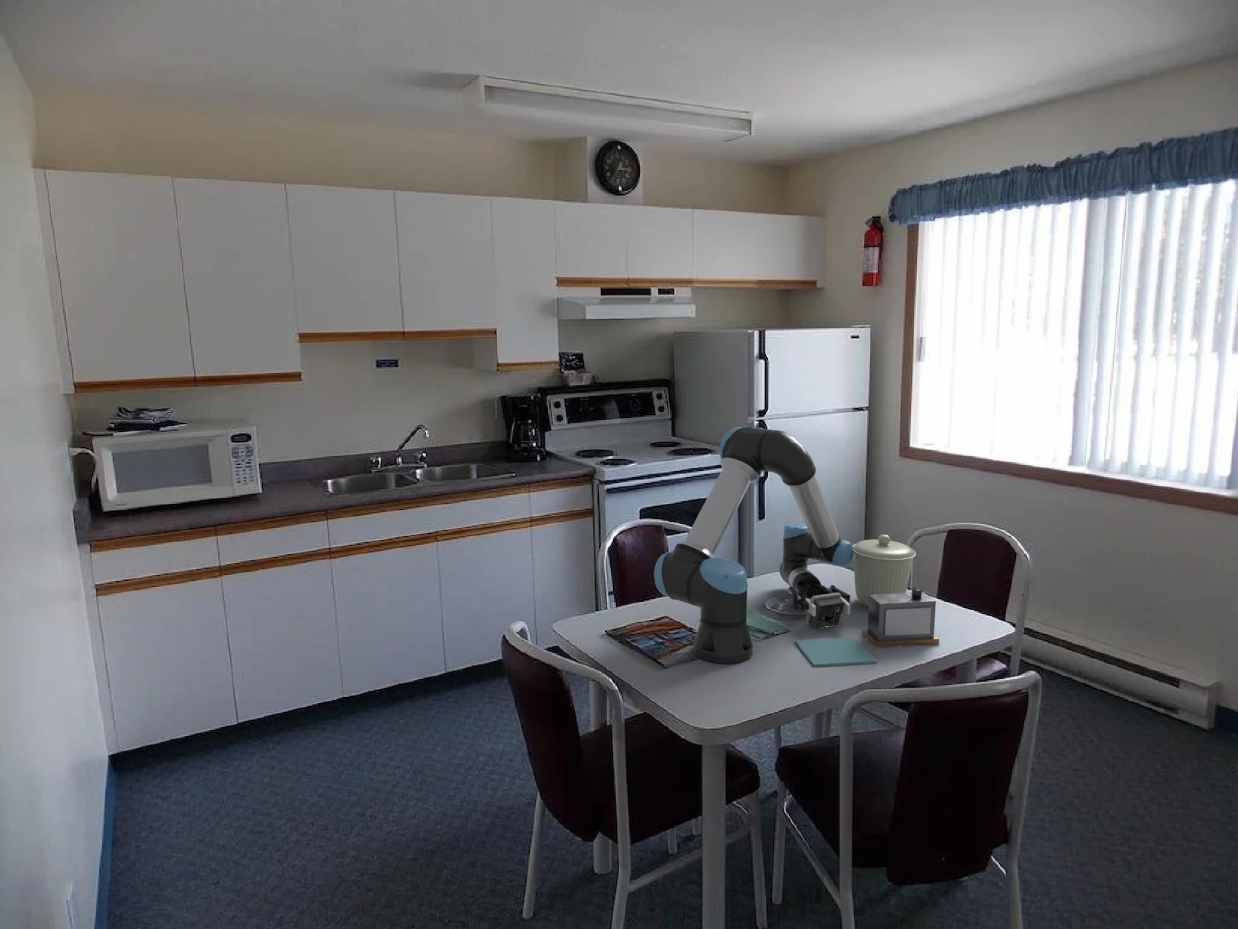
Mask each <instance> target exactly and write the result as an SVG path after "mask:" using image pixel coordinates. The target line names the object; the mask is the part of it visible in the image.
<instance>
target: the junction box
mask: <svg viewBox="0 0 1238 929" xmlns="http://www.w3.org/2000/svg"><path fill="white" fill-rule="evenodd" d="M936 603H937V601H936V600H935V599H933V598H932V597H931V596H929V595H928V594H927V593H925V592H924V591H923V590H922V589H921V588H916V587H915V588H911V592H906V593H895V594H874V595H869V605H868V606H867V607H868V610H867V628H862V629H861V635H862V634H863V635H862V636H863V637H864V638H865V639H866V638H867V639H868V640H867V639H866V640H867V641H868V642H869V643H870V644H871V645H872V644H873V645H874V646H875V647H876V649H877V648H878V647H882V648H895V647H897V648H899V647H898V646H901V647H916V645H919V646H933V645H932V644H936V645H937V644H938V645H940V638H939V637H938V636H936V635H935V623H936V621H935V620H936V619H935V618H936V605H937V604H936ZM873 645H872V646H873ZM936 645H935V646H936ZM874 646H873V647H874ZM875 647H874V648H875Z"/></svg>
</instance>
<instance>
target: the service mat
mask: <svg viewBox="0 0 1238 929" xmlns="http://www.w3.org/2000/svg"><path fill="white" fill-rule="evenodd" d="M794 644H797V645H796V646H797V647H798V648H799V650H800V651H801V652H802V654H803V655H804V656H805V658H806V659H807V660H808V661H809V662H810V664H811V665H812V666H813V667H814V668H815V667H817V668H818V667H827V666H828V667H830V666H831V667H832V666H833V667H834V666H850V665H867V664H868V665H869V664H877V663H878V660H877V659H876V658H875V657H874V656H873V655H872V654H871V653H870V652H869V651H868V650H867V649H866V648H865V647H864V646H863V645H862V643H860V642H859V641H858V640H857V639H856V637H853V636H852V637H837V638H836V637H835V638H818V639H817V638H815V639H814V638H813V639H797V640H796V639H795V640H794Z"/></svg>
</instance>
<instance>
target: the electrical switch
mask: <svg viewBox="0 0 1238 929" xmlns="http://www.w3.org/2000/svg"><path fill="white" fill-rule="evenodd" d="M810 602H812V603H813V604H814V605H815V606H816V616H812V615H811V614H810V612H809V611H808V610H807V615H806V618H805V623H806V625H808V626H810V625H811V626H812V627H813V628H814V629H815V630H817V629H822V627H823V628H826V627H825V626H830V627H835V626H839V625H840V622H841V618H842V614H843V606H844V602H843V601H842V599H841V594H840V593H839V592H838V593H831V594H824V595H817V596H813V597H812V598H811V599H810Z"/></svg>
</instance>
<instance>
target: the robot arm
mask: <svg viewBox="0 0 1238 929" xmlns="http://www.w3.org/2000/svg"><path fill="white" fill-rule="evenodd" d="M719 448H720V450H719V458H720V459H721V460H720V463H719V464H720V465H721V469H722V470H721V472H720V473H719V476H718V477H717V479H716V481H715V483H714V484H713V487H712V488H711V491H710V493H709V494H708V496H707V498H706V500H705V502H704V504H703V505H702V507H701V509H700V511H699V513H698V515H697V517H696V519H695V520H694V523H693V525H692V527H691V528H690V530H689V533H688V534H687V536H686V538H685V539H684V541H680V542H677V543H676V545H675V547H674V548H673V550H672V551H668V552H665V553H663V554H661V555H659V556H660V557H658V559H657V561H656V563H655V565H654V571H653V572H654V573H653V577H654V584H655V587H656V589H657V590H658V592H659V593H661V595H663V596H665V597H668V598H670V599H671V600H673V601H679V602H682V603H686V604H689V605H691V606H695V607H696V608H697V607H698V608H700V622H699V625H698V629H697V632H696V634H695V638H694V640H693V653H694V652H695V653H694V654H696V655H695V656H696V657H697V658H699V659H701V660H703V661H705V662H706V661H707V662H709V663H712V664H713V663H714V664H723V665H724V664H726V665H727V664H730V665H731V664H736V663H742V662H746V661H747V660H749V659H750V658H752V656H753V654H754V644H753V643H754V642H753V639H752V636H751V634H750V631H749V628H748V623H747V615H748V614H747V613H748V612H747V611H748V610H747V608H748V604H747V603H748V587H749V584H748V579H747V578H748V576H747V575H748V574H747V571H746V569H745V567H744V566H743V565H741V563H739V562H737V561H735V560H732V559H728V558H720V557H714V555H715V553H716V551H717V549H718V547H719V545H720V543H721V541H722V539H723V538H724V535H725V533H726V531H727V530H728V527H729V526H730V524H731V521H732V520H733V517H734V516H735V513H737V510H738V509H739V506H740V504H741V502H742V500H743V498H744V496H745V494H746V493H747V491H748V489H749V487H750V484H753V483H756V482H759V479H760V478H761V476H762V473H764V472H769V473H774V474H775V475H778V476H779V477H780V478H781V480H782V482H783V484H784V485H786V486H788V487H789V489H790V491H791V494H792V496H793V499H794V501H795V502H796V505H797V508H798V509H799V512H800V513H801V516H802V519H803V521H804V523H802V522H800V523H799V522H790V523H788V524H785V525H784V528H783V537H782V542H783V543H782V545H783V547H782V549H783V550H782V552H783V553H782V555H783V556H782V561H781V562H780V564H779V565H778V572H779V575H780V577H781V578H782V580H783V581H784V582H785V583H786V584H787V585H788V586H789V587H788V596H789V597H790V598H791V602H792V605H793V607H795V608H796V607H798V606H800V607H799V609H800V610H801V611H803V610H804V611H805V610H806V611H807V612H808V611H809V612H810V614H811V615H812V616H816V606H815V605H814V604H813V603H812V602H810V601H811V598H812V597H813V596H817V595H824V594H831V593H838V592H839V593H840V594H841V599H842V601H843V602H844V606H843V610H842V612H843V613H845V614H846V615H851V594H848V593H846V592H845V591H843V590H841V589H839V588H837V587H836V585H834V584H831V585H830V586H829V587H826V586H825V585H822V583H821V581H820V580H819V578H818V577H817V576H816V575H815V574H814V573H813V572H811V571H810V570H809V569H808V565H809V564H808V563H809V562H808V560H809V559H811V560H814V561H818V562H823V563H825V564H830V565H833V566H834V565H836V566H842V567H845V566H848V565H849V564H850V563H851V561H852V559H853V558H854V552H853V545H854V544H852V542H850V541H848V540H846V539H842V538H841V537H840V533H839V531H838V529H837V527H836V524H835V521H834V519H833V516H832V515H831V512H830V509H829V508H828V504H827V503H826V500H825V497H824V496H823V493H822V490H821V488H820V485H819V483H818V481H817V477H816V474H817V469H816V466H815V463H814V461H813V459H812V457H811V456H810V454H809V452H808V451H807V450H806V448H805V447H804V446H803V444H802V443H801V442H800V441H799V440H797V438H795V437H794V436H793V435H791V434H790V433H787V432H785V431H783V430H778V429H766V428H759V427H758V428H757V427H752V426H737V427H733V428H732V429H729V431H727V432H726V434H724V436H723V437H722V439H721V442H720V445H719ZM799 597H800V598H799Z"/></svg>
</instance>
